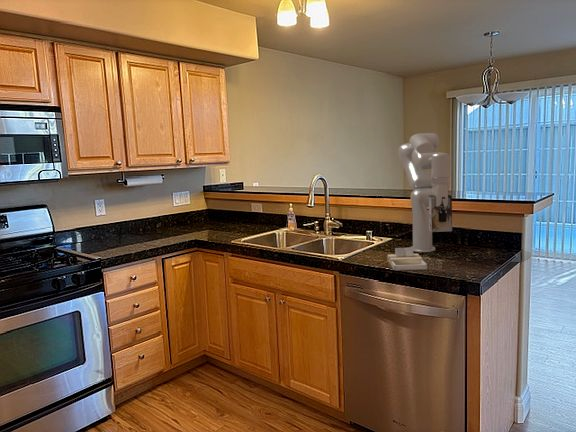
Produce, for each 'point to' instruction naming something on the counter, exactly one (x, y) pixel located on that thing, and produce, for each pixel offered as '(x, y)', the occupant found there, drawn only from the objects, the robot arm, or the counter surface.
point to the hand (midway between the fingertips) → (440, 220)
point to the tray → (409, 266)
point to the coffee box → (434, 216)
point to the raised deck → (405, 259)
